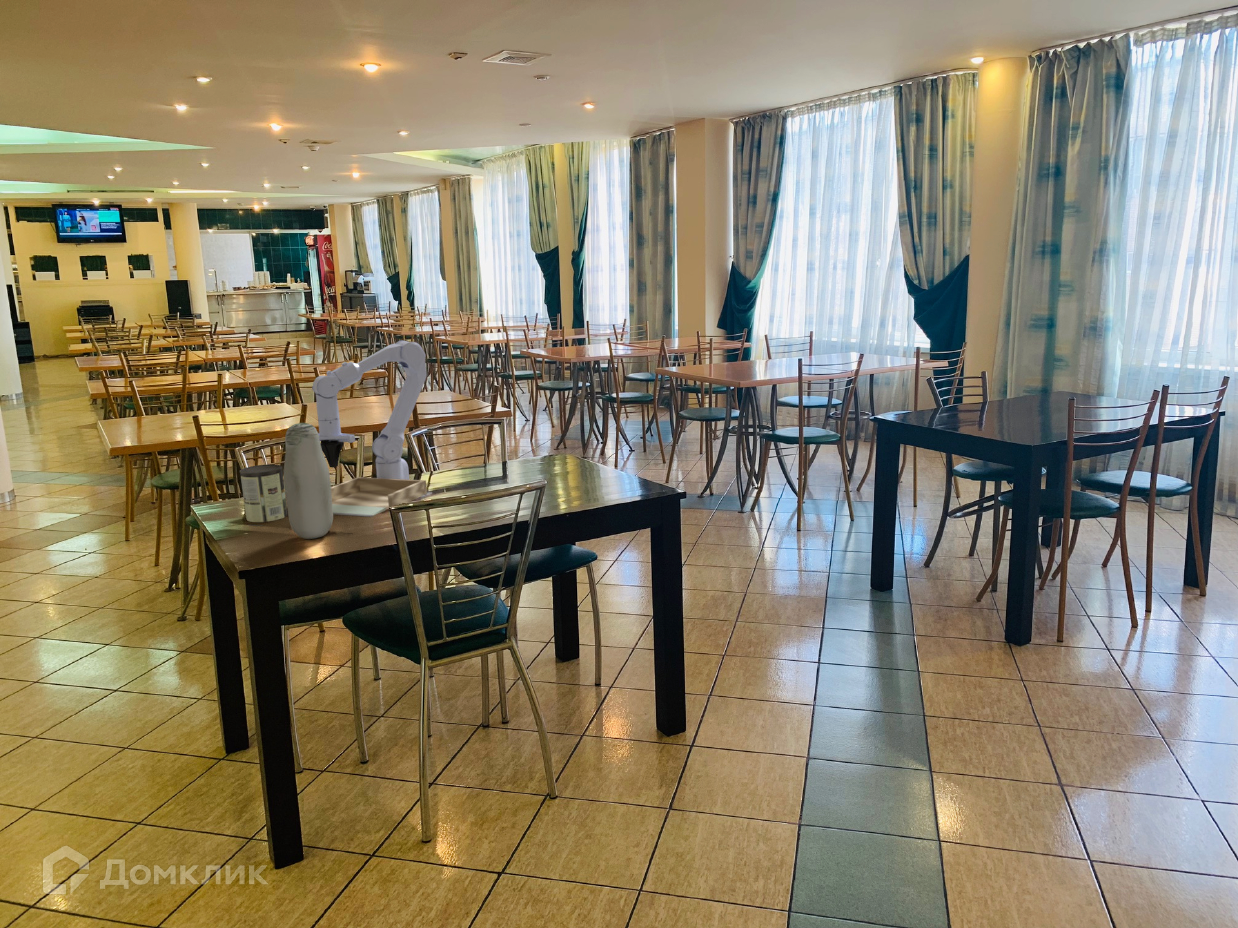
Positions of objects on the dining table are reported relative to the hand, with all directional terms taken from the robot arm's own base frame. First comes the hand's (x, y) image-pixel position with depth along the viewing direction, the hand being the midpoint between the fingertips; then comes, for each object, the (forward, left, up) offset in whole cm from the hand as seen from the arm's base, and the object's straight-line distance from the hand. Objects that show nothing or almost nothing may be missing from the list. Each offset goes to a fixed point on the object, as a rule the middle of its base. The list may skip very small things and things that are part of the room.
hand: (333, 466), depth 250 cm
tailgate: (+11, +14, -8) cm, 20 cm away
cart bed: (+3, +14, -9) cm, 17 cm away
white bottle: (+34, +18, -10) cm, 40 cm away
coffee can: (+24, -4, -10) cm, 26 cm away
